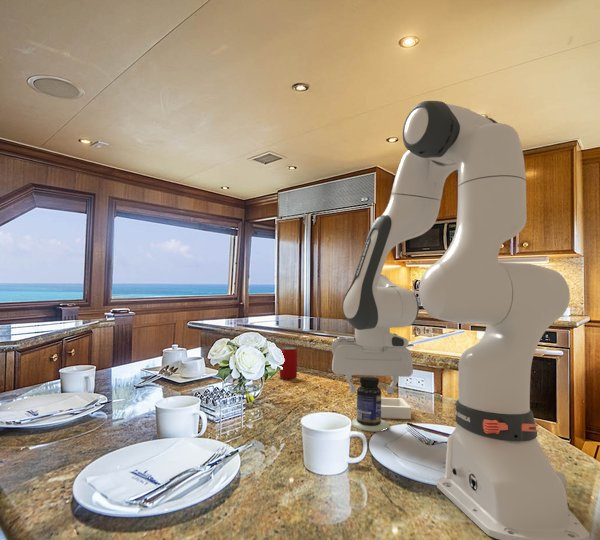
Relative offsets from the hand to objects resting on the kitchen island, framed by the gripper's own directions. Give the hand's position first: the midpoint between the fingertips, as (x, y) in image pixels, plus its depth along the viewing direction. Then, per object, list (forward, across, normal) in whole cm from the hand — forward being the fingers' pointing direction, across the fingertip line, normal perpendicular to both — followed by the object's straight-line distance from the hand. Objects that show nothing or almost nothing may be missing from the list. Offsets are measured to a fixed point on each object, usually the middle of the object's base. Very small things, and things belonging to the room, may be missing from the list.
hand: (371, 393), depth 99 cm
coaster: (+8, 0, 0) cm, 8 cm away
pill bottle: (+8, -1, 0) cm, 8 cm away
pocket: (+8, +7, +12) cm, 16 cm away
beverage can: (+8, -24, +54) cm, 60 cm away
